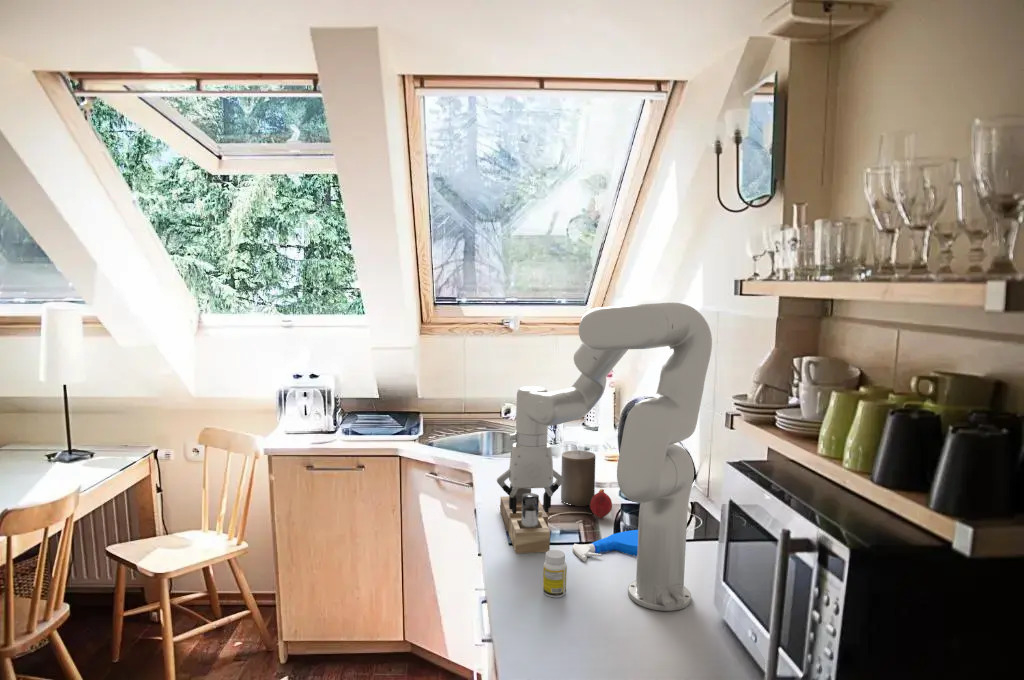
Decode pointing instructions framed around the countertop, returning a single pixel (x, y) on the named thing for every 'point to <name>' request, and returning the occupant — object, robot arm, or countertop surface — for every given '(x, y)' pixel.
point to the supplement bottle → (554, 574)
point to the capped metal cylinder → (530, 510)
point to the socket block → (517, 506)
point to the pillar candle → (578, 477)
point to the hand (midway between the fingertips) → (529, 510)
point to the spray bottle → (609, 545)
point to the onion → (601, 504)
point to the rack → (528, 535)
